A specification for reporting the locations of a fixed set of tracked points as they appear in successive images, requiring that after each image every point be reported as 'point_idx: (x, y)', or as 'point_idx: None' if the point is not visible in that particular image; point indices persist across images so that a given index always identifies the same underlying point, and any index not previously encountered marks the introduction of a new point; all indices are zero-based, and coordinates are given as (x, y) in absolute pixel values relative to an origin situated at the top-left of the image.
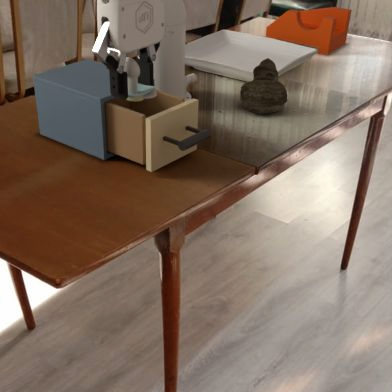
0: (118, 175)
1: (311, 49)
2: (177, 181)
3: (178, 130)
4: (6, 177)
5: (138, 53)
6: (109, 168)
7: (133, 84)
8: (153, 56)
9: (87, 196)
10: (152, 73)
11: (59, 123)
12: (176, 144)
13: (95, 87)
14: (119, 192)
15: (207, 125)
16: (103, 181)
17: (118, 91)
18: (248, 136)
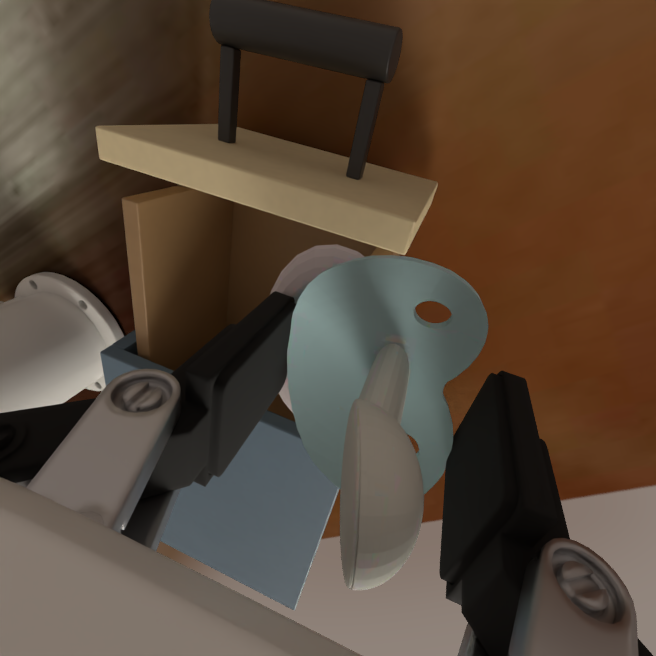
0: (463, 276)
1: None
2: (433, 80)
3: (269, 154)
4: (570, 497)
5: (172, 504)
6: (431, 314)
7: (403, 393)
8: (132, 401)
9: (639, 304)
10: (240, 333)
11: None
12: (381, 97)
13: (271, 487)
14: (583, 227)
15: (85, 184)
16: (518, 299)
17: (543, 443)
18: (48, 29)
